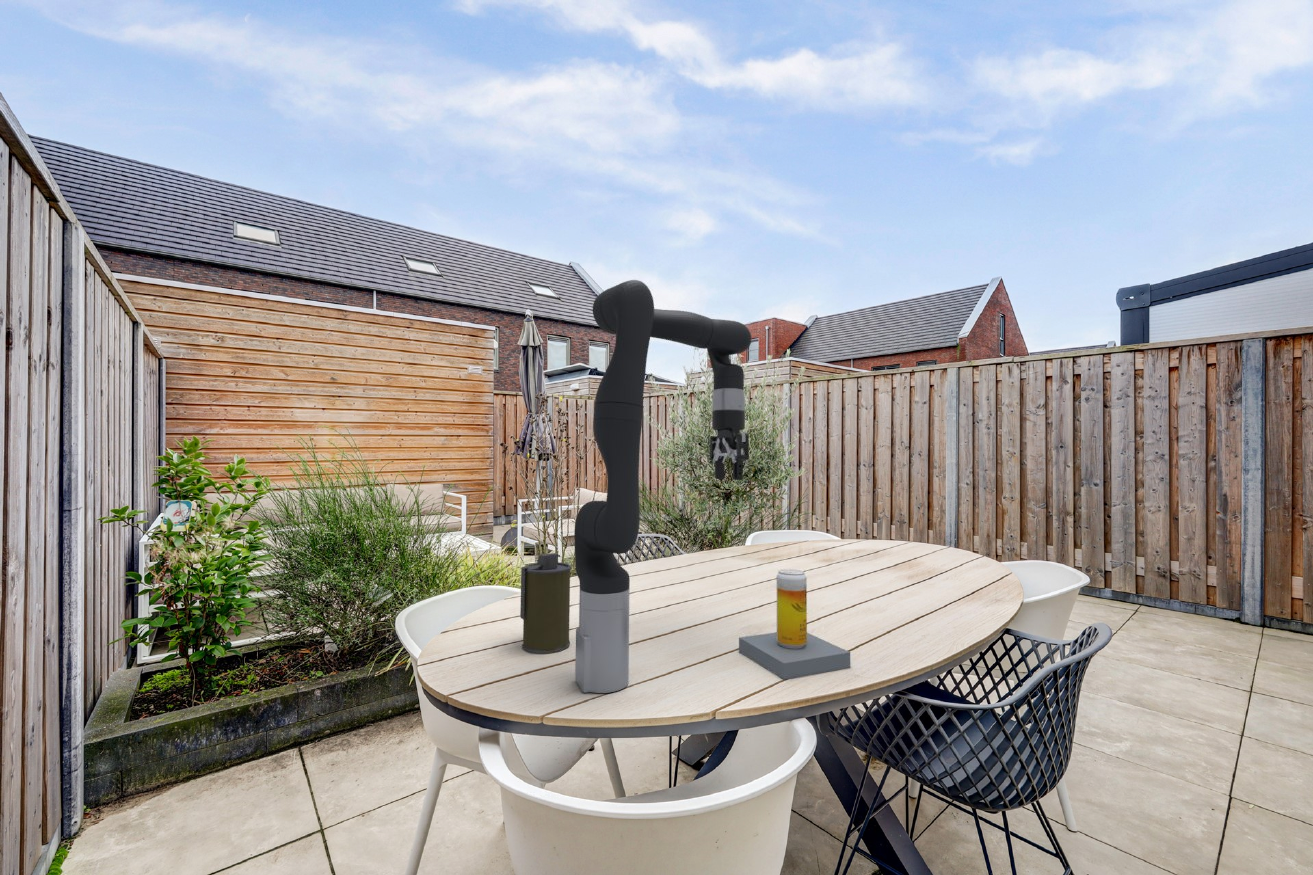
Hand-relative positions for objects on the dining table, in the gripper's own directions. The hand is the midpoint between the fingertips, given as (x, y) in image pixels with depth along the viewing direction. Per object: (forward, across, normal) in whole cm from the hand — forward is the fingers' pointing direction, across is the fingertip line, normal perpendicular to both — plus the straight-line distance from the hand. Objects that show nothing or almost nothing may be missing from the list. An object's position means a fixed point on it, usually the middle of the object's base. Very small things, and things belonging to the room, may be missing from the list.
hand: (728, 479), depth 123 cm
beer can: (+34, -14, -7) cm, 38 cm away
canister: (+37, +12, +39) cm, 55 cm away
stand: (+37, -14, -7) cm, 40 cm away
